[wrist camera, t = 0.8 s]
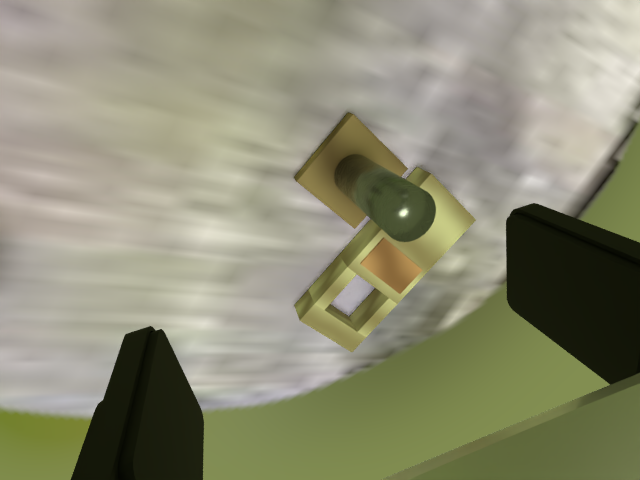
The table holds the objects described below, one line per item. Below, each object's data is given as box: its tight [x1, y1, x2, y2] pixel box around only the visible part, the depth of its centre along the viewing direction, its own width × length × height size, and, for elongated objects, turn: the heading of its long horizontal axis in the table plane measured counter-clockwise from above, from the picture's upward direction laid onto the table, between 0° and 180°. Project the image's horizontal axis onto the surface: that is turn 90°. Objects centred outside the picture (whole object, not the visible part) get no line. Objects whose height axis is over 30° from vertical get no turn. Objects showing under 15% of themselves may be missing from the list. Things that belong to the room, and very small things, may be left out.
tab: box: [294, 113, 408, 229], centre depth 39 cm, size 8×8×2 cm
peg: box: [334, 154, 436, 242], centre depth 33 cm, size 4×4×12 cm
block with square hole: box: [295, 167, 475, 352], centre depth 43 cm, size 20×8×3 cm, turn 138°
